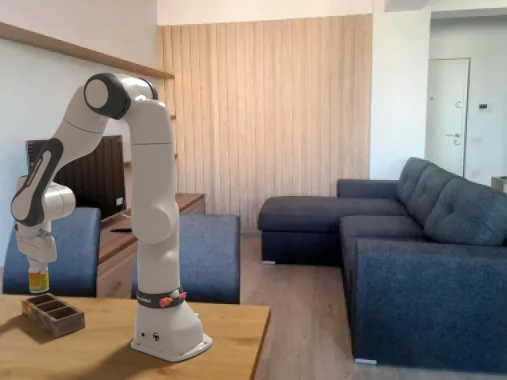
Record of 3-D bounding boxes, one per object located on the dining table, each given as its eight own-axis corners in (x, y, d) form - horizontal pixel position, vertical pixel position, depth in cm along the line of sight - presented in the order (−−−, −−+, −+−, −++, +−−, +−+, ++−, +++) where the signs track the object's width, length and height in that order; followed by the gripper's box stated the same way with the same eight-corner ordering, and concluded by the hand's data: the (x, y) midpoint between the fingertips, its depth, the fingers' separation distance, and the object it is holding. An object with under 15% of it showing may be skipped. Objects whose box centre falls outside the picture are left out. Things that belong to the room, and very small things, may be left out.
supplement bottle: (44, 293, 138) (42, 262, 137) (26, 293, 139) (24, 262, 137) (52, 287, 144) (50, 257, 143) (35, 287, 144) (33, 257, 143)
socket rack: (85, 327, 132) (84, 311, 132) (55, 337, 126) (53, 321, 125) (49, 305, 148) (48, 291, 148) (21, 314, 142) (20, 299, 141)
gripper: (60, 230, 134) (63, 276, 136) (32, 220, 148) (35, 262, 149) (38, 234, 129) (42, 281, 131) (11, 223, 143) (14, 266, 145)
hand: (38, 271), depth 140 cm, fingers closed on supplement bottle, 5 cm apart
